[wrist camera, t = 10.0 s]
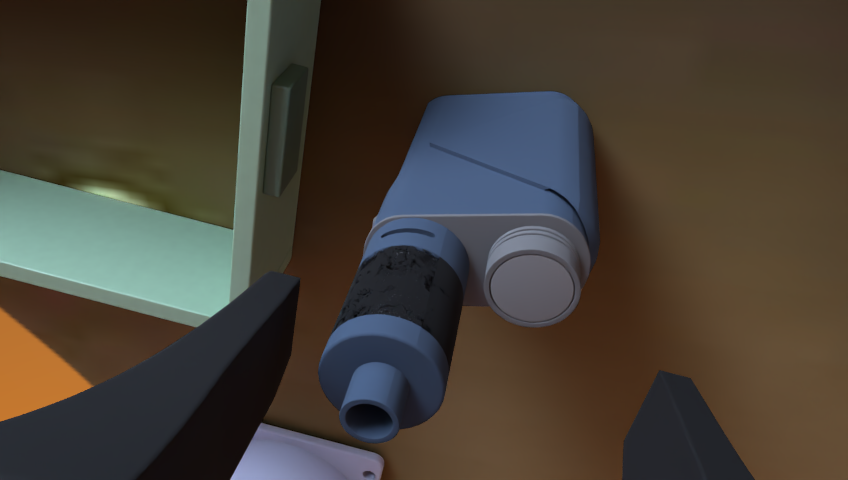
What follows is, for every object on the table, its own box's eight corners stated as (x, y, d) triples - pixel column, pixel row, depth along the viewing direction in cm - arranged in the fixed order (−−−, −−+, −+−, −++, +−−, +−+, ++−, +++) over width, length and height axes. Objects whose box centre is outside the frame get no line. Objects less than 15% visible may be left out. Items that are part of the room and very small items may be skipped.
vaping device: (411, 91, 22) (283, 361, 12) (593, 84, 21) (615, 372, 11) (420, 169, 24) (311, 469, 14) (592, 166, 23) (610, 487, 13)
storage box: (305, 262, 26) (261, 345, 23) (-133, 149, 27) (-247, 211, 23) (358, -153, 19) (307, -132, 15) (-244, -298, 19) (-438, -311, 16)
